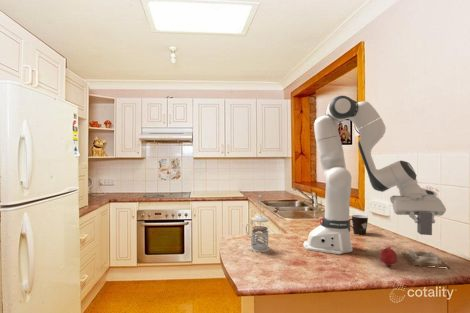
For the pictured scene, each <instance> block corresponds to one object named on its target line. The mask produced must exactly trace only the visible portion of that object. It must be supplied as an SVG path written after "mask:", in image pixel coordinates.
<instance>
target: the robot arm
mask: <svg viewBox="0 0 470 313" xmlns="http://www.w3.org/2000/svg"><path fill="white" fill-rule="evenodd" d="M346 120H349V121H351V122H352V123H353V124H354V125H355V127H356V129H357V131H358V134H359V140H358V142H357V146H358V150H359V152H360V155H361V156H360V157H361V159H362V162H363V164H364V166H365V170H366V172H367V175H368V180H369V183H370V185H371V187H372V188H373V190H374V191H377V192H382V193H384V192H385V191H387V190H390V189H391V188H394V187H396V188H397V189H398V190H399V195H392V196H390V198H389V200H390V202H391V204H392V209H393V212H394V213H395V214H396V215H398V216H399V215H400V216H401V215H403V216H407V215H408V217H409V218H411V220H413V221H414V223H415V224H417V223H420V219H419V218H417V212H418V211H426V212H430V213H432V224H436V220H435V216H441V217H443V216H444V214H445V213H446V211H447V208H446V207H445V205H444V203H443V201H442V200H441V199H440V198H439V197H437V193H436V192H435V191H432V190H428V189H426V188H424V187H423V188H422V187H421V186H420V185H419V184H418V179H417V174H416V171H415V170H414V168H413V166H412V164H410V162H407V161H405V160H398V161H395V162H393V163H391V164H388V165H385V166H384V167H382V168H379V169H377V168H376V165H375V162H374V160H373V159H374V158H373V156H372V150H373V148H374V147H375V146H376V144H378V143H379V142H380V141H381V139H382V138H383V137H384V135H385V133H386V128H387V127H386V124H385V123H384V120H383V118H382V117H381V116H380V114H379V113H378V111H377V109H376V108H375V107H374V106H373V105H372V104H371V103H370V102H368V101H366V100H363V101H359V102H357V101H356V100H354V99H353V98H351V97H349V96H347V95H338V96H335V97H333V99H332V100H330V102H329V103H328V105H327V108H326V111H325V113H324V115H321V116H319V117H318V118H316V119H315V121H314V123H313V128H314V129H313V130H314V131H313V132H314V138H315V141H316V145H317V152H318V154H319V159H320V163H321V169H322V174H323V178H324V182H325V195H324V196H325V197H324V217H323V216H320V217H319V218H318V220H319V222H320V225H318V226H316V227H315V228H314V229H312V230H311V231H310V232H309V234H308V236H307V239H306V240H304V241H303V248H304V249H305V250H307V251H314V252H321V253H327V254H332V255H333V254H335V255H343V254H346V253H351V252H353V249H354V248H353V247H352V246H353V245H352V241H351V233H350V232H351V227H350V225H351V220H350V219H351V218H350V200H351V194H352V193H351V191H352V175H351V172H350V171H349V170H348V169H347V167H346V161H345V160H346V159H345V154H344V153H345V152H344V149H343V148H344V147H343V143H342V141H341V136H340V133H339V126H338V125H339V124H340V123H342V122H344V121H346Z"/></svg>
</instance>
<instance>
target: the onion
mask: <svg viewBox="0 0 470 313" xmlns="http://www.w3.org/2000/svg"><path fill="white" fill-rule="evenodd" d="M397 255H398V254H397V253H396V252H395V250H393V249H392V247H391V246H390V245H388V246H387V247H386V248H384V249H382V250H381V253H380V257H379V258H380V260H381V262H383V264H384V265H386V266H387V267H391V266H392V265H394V264H396V263H397V262H398V256H397Z"/></svg>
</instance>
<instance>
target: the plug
mask: <svg viewBox="0 0 470 313" xmlns="http://www.w3.org/2000/svg"><path fill="white" fill-rule="evenodd" d="M416 217H417V218H419V219H420V223H416V224H417V225H416V226H417V228H416V229H417V233H418V234H419V235H421V236H422V235H425V236H432V235H433V223H432V213H430V212H426V211H418V212H417V215H416Z"/></svg>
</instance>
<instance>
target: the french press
mask: <svg viewBox="0 0 470 313" xmlns="http://www.w3.org/2000/svg"><path fill="white" fill-rule="evenodd" d="M258 199H259V210H260V211H259V213H261V199H263V195H258ZM251 220H252V221H250V222H248V223H247V224H246V226H245V233H246V235H247V236H248V237H249V238H250V242H251V243H250V244H251V245H250V247H249V250H250V249H251V250H250V251H252V250H253V251H252V252H256V251H257V253H266V252H268V251H270V250H271V248H270V247H269V230H268V226H261V225H257V226H256V225H255V226H253V227H252V231H251V235H250V234H249V233H248V226H249V224H251V225H253V224H254V223H253V222H257V223H258V222H259V223H267V222H269V218H268V217H266V216H263V215H255V216H253V217H251Z"/></svg>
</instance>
